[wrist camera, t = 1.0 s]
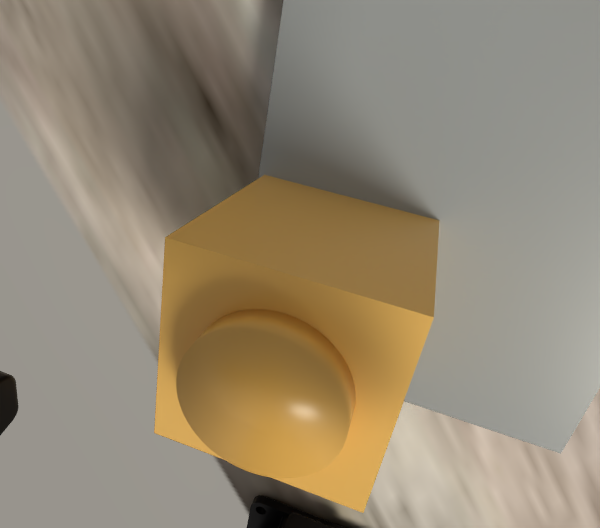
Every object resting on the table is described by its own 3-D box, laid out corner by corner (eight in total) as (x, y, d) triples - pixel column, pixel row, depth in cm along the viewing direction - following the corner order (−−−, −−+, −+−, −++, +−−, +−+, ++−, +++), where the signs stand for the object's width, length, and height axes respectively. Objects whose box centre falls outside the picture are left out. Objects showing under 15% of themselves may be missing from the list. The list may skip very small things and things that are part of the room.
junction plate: (553, 428, 17) (592, 565, 12) (246, 328, 19) (182, 413, 15) (937, -249, 9) (1428, -558, 5) (341, -292, 11) (267, -533, 7)
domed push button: (390, 367, 17) (357, 543, 11) (243, 320, 18) (136, 455, 12) (439, 220, 14) (432, 339, 8) (264, 174, 15) (143, 251, 9)
